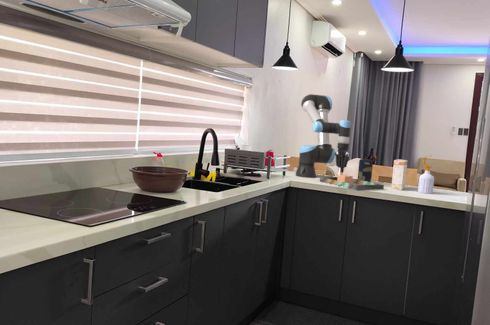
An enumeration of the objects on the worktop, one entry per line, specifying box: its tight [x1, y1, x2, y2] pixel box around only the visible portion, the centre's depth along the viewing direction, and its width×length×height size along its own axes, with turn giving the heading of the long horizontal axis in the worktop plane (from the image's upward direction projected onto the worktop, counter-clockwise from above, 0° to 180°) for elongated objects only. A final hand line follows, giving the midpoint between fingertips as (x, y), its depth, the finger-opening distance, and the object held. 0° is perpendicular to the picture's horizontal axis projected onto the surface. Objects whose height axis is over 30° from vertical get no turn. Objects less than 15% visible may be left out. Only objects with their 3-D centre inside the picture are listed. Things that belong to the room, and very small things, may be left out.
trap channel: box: [319, 176, 385, 191], centre depth 289 cm, size 34×24×3 cm
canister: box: [357, 157, 374, 182], centre depth 309 cm, size 10×10×18 cm
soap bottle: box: [417, 155, 435, 195], centre depth 280 cm, size 9×9×25 cm
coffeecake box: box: [390, 158, 409, 191], centre depth 290 cm, size 15×7×20 cm, turn 152°
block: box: [337, 174, 354, 184], centre depth 294 cm, size 7×7×6 cm
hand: (340, 177), depth 297 cm, fingers closed
